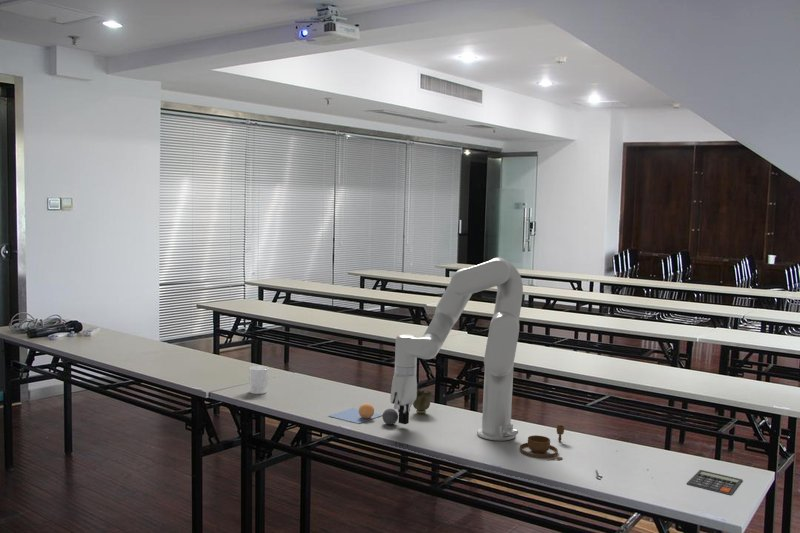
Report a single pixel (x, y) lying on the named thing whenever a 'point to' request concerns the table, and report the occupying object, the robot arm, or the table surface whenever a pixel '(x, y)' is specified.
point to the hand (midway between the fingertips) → (403, 423)
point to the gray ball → (390, 416)
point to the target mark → (352, 416)
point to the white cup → (258, 379)
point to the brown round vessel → (422, 401)
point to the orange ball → (366, 410)
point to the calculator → (714, 482)
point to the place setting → (542, 445)
